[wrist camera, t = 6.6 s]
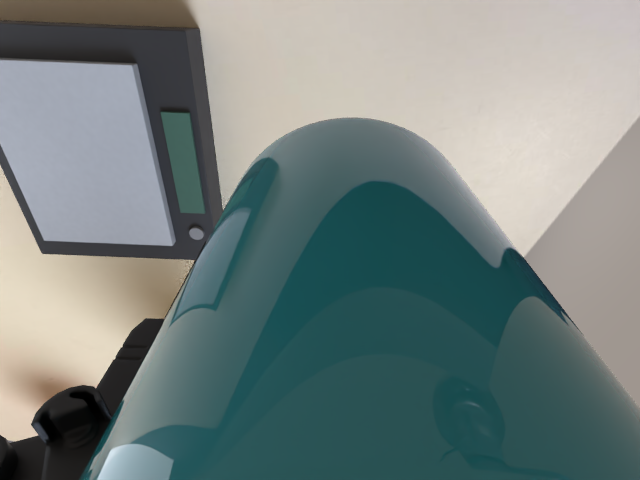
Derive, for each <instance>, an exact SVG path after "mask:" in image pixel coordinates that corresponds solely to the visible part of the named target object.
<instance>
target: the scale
mask: <svg viewBox="0 0 640 480" xmlns="http://www.w3.org/2000/svg"><path fill="white" fill-rule="evenodd" d="M0 165H1V167H2V169H3V171H4V174H5V176H6V178H7V180H8V182H9V184H10V186H11V189H12V191H13V193H14V195H15V197H16V199H17V201H18V203H19V206H20V208H21V210H22V212H23V214H24V216H25V218H26V220H27V223H28V225H29V227H30V229H31V231H32V233H33V235H34V238H35V240H36V242H37V244H38V246H39V248H40V250H41V252H42V254H62V255H87V256H111V257H135V258H160V259H184V260H196V258H197V256H198V254H199V252H200V251H201V249H202V247H203V245H204V243H205V241H207V240H208V238H209V237H210V235H211V233H212V231H213V229H214V227H215V225H216V224H217V222H218V220H219V218H220V216H221V214H222V212H223V210H222V202H221V194H220V186H219V178H218V170H217V163H216V155H215V147H214V139H213V131H212V123H211V115H210V107H209V100H208V92H207V84H206V76H205V68H204V60H203V52H202V45H201V37H200V29H199V28H176V27H152V26H127V25H103V24H78V23H54V22H29V21H5V20H0Z"/></svg>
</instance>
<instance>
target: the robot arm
mask: <svg viewBox="0 0 640 480" xmlns="http://www.w3.org/2000/svg"><path fill="white" fill-rule="evenodd" d="M206 242H207V241H205V243H204V245H203V247H202V249H201V251H202V250H203V248H204V246H205V244H206ZM201 251H200V252H199V254H198V256H197V258H196V260H195V262H194V264H195V263H196V261H197V259H198V257H199V255H200V253H201ZM194 264H193V266H194ZM193 266H192V268H193ZM192 268H191V269H190V271H189V273H188V275H187V277H188V276H189V274H190V272H191V270H192ZM187 277H186V279H187ZM186 279H185V281H186ZM185 281H184V283H185ZM184 283H183V284H182V286H181V288H180V290H181V289H182V287H183V285H184ZM180 290H179V292H180ZM179 292H178V294H179ZM178 294H177V296H178ZM177 296H176V298H177ZM176 298H175V299H174V301H173V303H174V302H175V300H176ZM173 303H172V305H173ZM172 305H171V307H172ZM171 307H170V309H171ZM170 309H169V311H170ZM169 311H168V313H169ZM168 313H167V314H166V316H167V315H168ZM166 316H165V318H166ZM165 318H164V319H147V318H146V319H145V320H143V321H142V322H141V323H140V324H139V325H138V326H136V327H135V328H134V329H133V330H132V331H131V332H130V334H129V336H128V337H127V339H126V340H125V342H124V344H123V347H122V348H121V349H120V350H119V352H118V354H117V355H116V359H115V360H113V362H112V363H111V365H110V367H109V368H108V370H107V371H106V373H105V375H104V376H103V378H102V380H101V381H100V383H99V384H98V386H97V388H94V387H92V386H85V385H81V386H76V387H71V388H68V389H66V390H64V391H62V392H59V393H57V394H56V395H55V396H53V397H52V398H51V399H49V400H48V401H46V402H45V403H44V404H43V406H42V407H41V408H40V409H39V410H38V411H37V413H36V414H35V417H34V419H33V421H32V424H31V425H32V426H33V428H34V429H35V431H36V432H37V433H38V435H39V436H35V437H31V438H27V439H24V440H20V441H16V442H12V443H9V442H8V441H7V440H6V438H4V437H2V436H1V435H0V480H79V478H80V476H81V474H82V472H83V471H84V469H85V467H86V465H87V463H88V461H89V459H90V458H91V456H92V454H93V452H94V450H95V448H96V446H97V445H98V443H99V441H100V439H101V437H102V435H103V433H104V432H105V430H106V428H107V426H108V424H109V422H110V420H111V419H112V417H113V415H114V413H115V411H116V409H117V407H118V406H119V404H120V402H121V400H122V398H123V396H124V394H125V393H126V391H127V389H128V387H129V385H130V383H131V381H132V380H133V378H134V376H135V374H136V372H137V370H138V368H139V367H140V365H141V363H142V361H143V359H144V357H145V355H146V354H147V352H148V350H149V348H150V346H151V344H152V342H153V341H154V339H155V337H156V335H157V333H158V331H159V329H160V328H161V326H162V324H163V322H164V320H165Z"/></svg>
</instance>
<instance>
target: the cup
mask: <svg viewBox="0 0 640 480" xmlns="http://www.w3.org/2000/svg"><path fill="white" fill-rule="evenodd" d="M79 480H640V408H639V406H638V405H637V404H636V403H635V401H634V400H633V399H632V397H631V396H630V395H629V393H628V392H627V391H626V390H625V388H624V387H623V386H622V384H621V383H620V382H619V381H618V379H617V378H616V377H615V375H614V374H613V373H612V372H611V370H610V369H609V368H608V366H607V365H606V364H605V362H604V361H603V360H602V359H601V357H600V356H599V355H598V354H597V352H596V351H595V350H594V348H593V347H592V346H591V344H590V343H589V342H588V341H587V339H586V338H585V337H584V335H583V334H582V333H581V331H580V330H579V329H578V328H577V326H576V325H575V324H574V322H573V321H572V320H571V319H570V317H569V316H568V315H567V313H566V312H565V311H564V309H563V308H562V307H561V306H560V304H559V303H558V302H557V300H556V299H555V298H554V297H553V295H552V294H551V293H550V291H549V290H548V289H547V287H546V286H545V285H544V284H543V282H542V281H541V280H540V278H539V277H538V276H537V275H536V273H535V272H534V271H533V269H532V268H531V267H530V266H529V264H528V263H527V262H526V260H525V259H524V258H523V256H522V255H521V254H520V253H519V251H518V250H517V249H516V247H515V246H514V245H513V243H512V242H511V241H510V240H509V238H508V237H507V236H506V234H505V233H504V232H503V231H502V229H501V228H500V227H499V225H498V224H497V223H496V221H495V220H494V219H493V218H492V216H491V215H490V214H489V212H488V211H487V210H486V209H485V207H484V206H483V205H482V203H481V202H480V201H479V200H478V198H477V197H476V196H475V194H474V193H473V192H472V190H471V189H470V188H469V187H468V185H467V184H466V183H465V181H464V180H463V179H462V178H461V176H460V175H459V174H458V172H457V171H456V170H455V169H454V167H453V166H452V165H451V164H450V162H449V161H448V160H447V159H446V158H445V157H444V156H443V154H442V153H440V152H439V151H438V150H437V149H436V148H435V147H434V146H433V145H431V144H430V143H429V142H427V141H426V140H425V139H423V138H422V137H420V136H418V135H417V134H415V133H413V132H411V131H409V130H407V129H405V128H403V127H400V126H397V125H394V124H391V123H388V122H384V121H380V120H374V119H368V118H337V119H329V120H324V121H319V122H316V123H312V124H309V125H306V126H303V127H301V128H298V129H296V130H294V131H292V132H290V133H288V134H286V135H284V136H283V137H281V138H280V139H278V140H276V141H275V142H274V143H272V144H271V145H270V146H268V147H267V148H266V149H265V150H264V151H263V152H262V153H261V154H259V156H258V157H257V158H256V159H255V160H254V161H253V162H252V163H251V165H250V166H249V167H248V169H247V170H246V171H245V173H244V175H243V176H242V178H241V180H240V181H239V183H238V185H237V187H236V188H235V190H234V192H233V194H232V196H231V198H230V199H229V201H228V203H227V205H226V207H225V209H224V211H223V212H222V214H221V216H220V218H219V220H218V222H217V224H216V225H215V227H214V229H213V231H212V233H211V235H210V237H209V238H208V240H207V242H206V244H205V246H204V248H203V250H202V251H201V253H200V255H199V257H198V259H197V261H196V263H195V264H194V266H193V268H192V270H191V272H190V274H189V276H188V277H187V279H186V281H185V283H184V285H183V287H182V289H181V290H180V292H179V294H178V296H177V298H176V300H175V302H174V303H173V305H172V307H171V309H170V311H169V313H168V315H167V316H166V318H165V320H164V322H163V324H162V326H161V328H160V329H159V331H158V333H157V335H156V337H155V339H154V341H153V342H152V344H151V346H150V348H149V350H148V352H147V354H146V355H145V357H144V359H143V361H142V363H141V365H140V367H139V368H138V370H137V372H136V374H135V376H134V378H133V380H132V381H131V383H130V385H129V387H128V389H127V391H126V393H125V394H124V396H123V398H122V400H121V402H120V404H119V406H118V407H117V409H116V411H115V413H114V415H113V417H112V419H111V420H110V422H109V424H108V426H107V428H106V430H105V432H104V433H103V435H102V437H101V439H100V441H99V443H98V445H97V446H96V448H95V450H94V452H93V454H92V456H91V458H90V459H89V461H88V463H87V465H86V467H85V469H84V471H83V472H82V474H81V476H80V478H79Z"/></svg>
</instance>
